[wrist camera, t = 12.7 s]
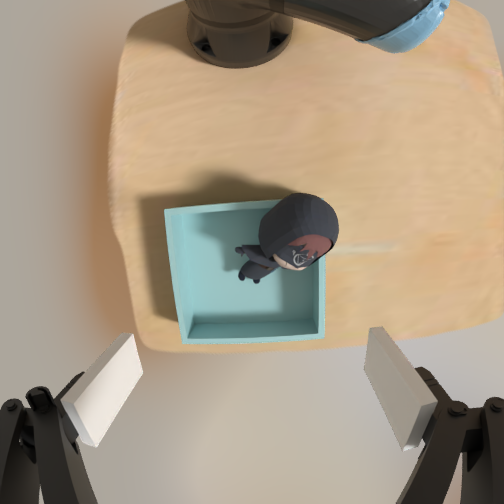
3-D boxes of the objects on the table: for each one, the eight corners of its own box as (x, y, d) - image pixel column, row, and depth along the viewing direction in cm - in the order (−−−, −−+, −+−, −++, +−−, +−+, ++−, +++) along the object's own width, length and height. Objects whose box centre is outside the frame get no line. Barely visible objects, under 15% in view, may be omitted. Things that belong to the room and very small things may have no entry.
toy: (216, 294, 34) (296, 229, 23) (216, 239, 38) (284, 164, 27) (278, 305, 38) (365, 254, 28) (273, 255, 42) (347, 195, 32)
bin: (177, 207, 38) (164, 209, 33) (315, 197, 37) (323, 198, 32) (191, 326, 42) (182, 343, 36) (317, 320, 41) (324, 338, 35)
